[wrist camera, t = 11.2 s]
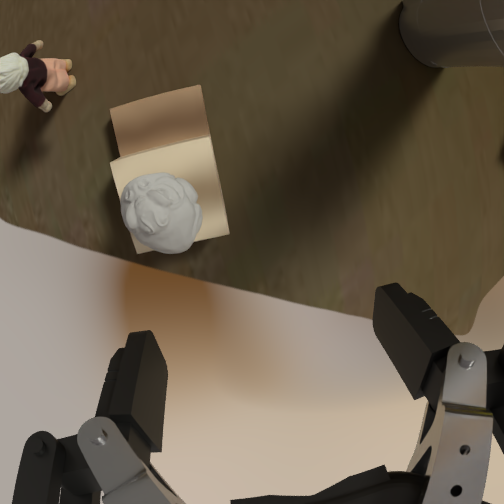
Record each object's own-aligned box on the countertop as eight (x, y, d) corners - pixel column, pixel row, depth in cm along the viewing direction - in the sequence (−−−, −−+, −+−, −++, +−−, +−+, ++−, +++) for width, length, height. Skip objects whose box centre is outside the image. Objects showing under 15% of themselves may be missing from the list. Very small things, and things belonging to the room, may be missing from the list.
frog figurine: (176, 147, 24) (163, 159, 18) (218, 213, 28) (220, 246, 21) (119, 185, 25) (92, 210, 19) (162, 247, 28) (150, 286, 22)
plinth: (117, 109, 27) (97, 109, 22) (201, 86, 28) (198, 80, 22) (148, 230, 33) (137, 254, 28) (226, 213, 34) (229, 234, 28)
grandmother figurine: (40, 64, 23) (-28, 54, 12) (67, 44, 23) (4, 22, 11) (62, 117, 26) (-6, 127, 15) (90, 98, 26) (28, 96, 15)
